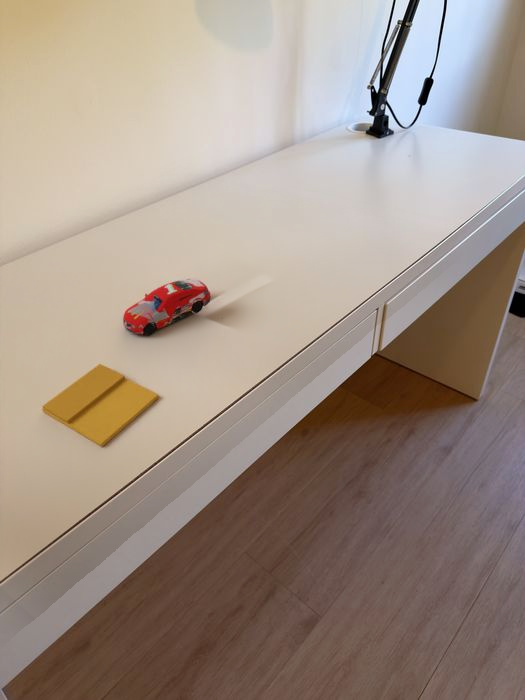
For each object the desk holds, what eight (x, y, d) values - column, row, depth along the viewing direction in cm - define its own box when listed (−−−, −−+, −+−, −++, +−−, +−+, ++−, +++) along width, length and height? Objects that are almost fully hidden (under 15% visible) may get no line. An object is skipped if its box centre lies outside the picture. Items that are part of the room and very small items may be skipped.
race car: (135, 343, 71) (129, 319, 68) (118, 325, 74) (111, 301, 72) (217, 305, 77) (214, 282, 74) (197, 290, 80) (193, 267, 78)
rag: (101, 447, 57) (99, 441, 56) (42, 412, 61) (40, 405, 61) (159, 397, 62) (157, 391, 62) (101, 368, 67) (99, 362, 66)
